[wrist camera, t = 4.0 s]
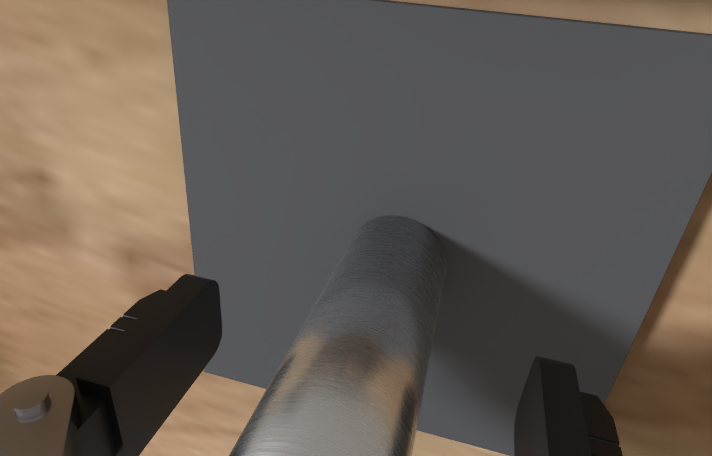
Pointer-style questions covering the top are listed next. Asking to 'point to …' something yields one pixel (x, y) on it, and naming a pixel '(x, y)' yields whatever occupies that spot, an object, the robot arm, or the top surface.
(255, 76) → the rubber mat
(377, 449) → the steel peg
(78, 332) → the top surface
